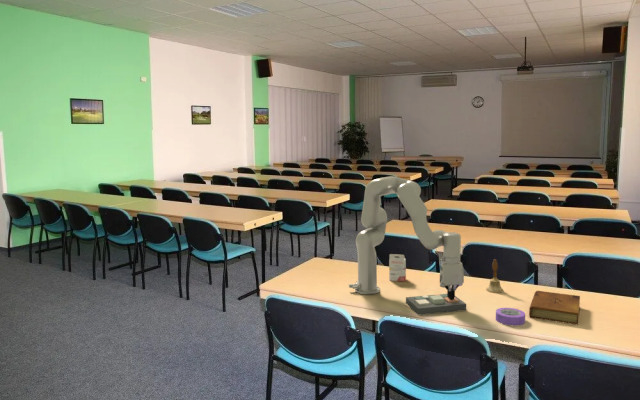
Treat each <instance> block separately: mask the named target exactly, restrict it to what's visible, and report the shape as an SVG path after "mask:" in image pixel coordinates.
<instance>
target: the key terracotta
mask: <svg viewBox="0 0 640 400" xmlns="http://www.w3.org/2000/svg"><path fill="white" fill-rule="evenodd" d="M444 300H445V301H446V302H447V303H454V302H459V300H458V299H456V298H455V297H454V299H452V300H450V299H449V298H448V297H444Z"/></svg>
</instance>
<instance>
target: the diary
mask: <svg viewBox="0 0 640 400" xmlns="http://www.w3.org/2000/svg"><path fill="white" fill-rule="evenodd" d="M580 299H581V295H576V294H575V295H574V294H566V293H559V292H551V291H543V290H536V291H535V292H534V295H533V297H532V299H531V303H530V306H529V308H528V309H529V311H528V313H529V314H528V316H529V317H528V318H531V319H537V320H544V321H545V320H546V321H551V322H556V321H557V323H563V322H564V323H563V324H569V323H571V324H570V325H576V324H577V325H579V316H580V302H581V300H580ZM577 325H576V326H577Z"/></svg>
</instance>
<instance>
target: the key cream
mask: <svg viewBox="0 0 640 400" xmlns="http://www.w3.org/2000/svg"><path fill="white" fill-rule="evenodd" d="M415 303H416V304H417V305H418V306H421V305H430V303H429V302H428V301H427V300H426V299H422V300H415Z"/></svg>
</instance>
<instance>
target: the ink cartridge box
mask: <svg viewBox="0 0 640 400" xmlns="http://www.w3.org/2000/svg"><path fill="white" fill-rule="evenodd" d="M406 260H407V259H406V258H405V254H396V253H395V254H393V253H390V254H389V260H388V270H389V271H388V273H389V275H388V276H389V281H392V282H393V281H394V282H395V281H396V282H405V281H406V279H407V266H406V265H407V263H406V262H407V261H406Z"/></svg>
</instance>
